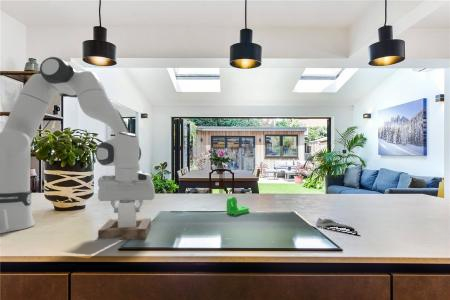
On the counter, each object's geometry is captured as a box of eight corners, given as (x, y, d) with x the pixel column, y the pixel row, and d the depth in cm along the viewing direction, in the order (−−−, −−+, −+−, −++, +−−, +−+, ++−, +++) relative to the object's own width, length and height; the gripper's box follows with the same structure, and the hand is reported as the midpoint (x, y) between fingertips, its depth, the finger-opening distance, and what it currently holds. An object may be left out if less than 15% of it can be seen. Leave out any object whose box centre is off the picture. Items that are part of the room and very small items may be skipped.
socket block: (98, 240, 101) (98, 230, 101) (109, 228, 117) (109, 219, 117) (146, 238, 104) (146, 228, 104) (150, 227, 119) (150, 218, 119)
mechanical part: (235, 215, 142) (235, 198, 142) (226, 213, 147) (226, 197, 146) (251, 211, 151) (251, 195, 151) (241, 209, 155) (242, 194, 155)
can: (114, 234, 108) (114, 202, 108) (123, 229, 115) (123, 198, 114) (130, 235, 107) (130, 203, 107) (139, 230, 113) (139, 199, 113)
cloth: (306, 219, 136) (306, 214, 136) (335, 219, 137) (335, 214, 137) (329, 236, 110) (329, 230, 110) (365, 236, 111) (365, 230, 111)
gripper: (95, 176, 106) (95, 214, 106) (154, 175, 109) (153, 213, 109) (100, 174, 112) (100, 211, 112) (155, 174, 115) (155, 209, 115)
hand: (127, 212), depth 111 cm, fingers closed on can, 6 cm apart
